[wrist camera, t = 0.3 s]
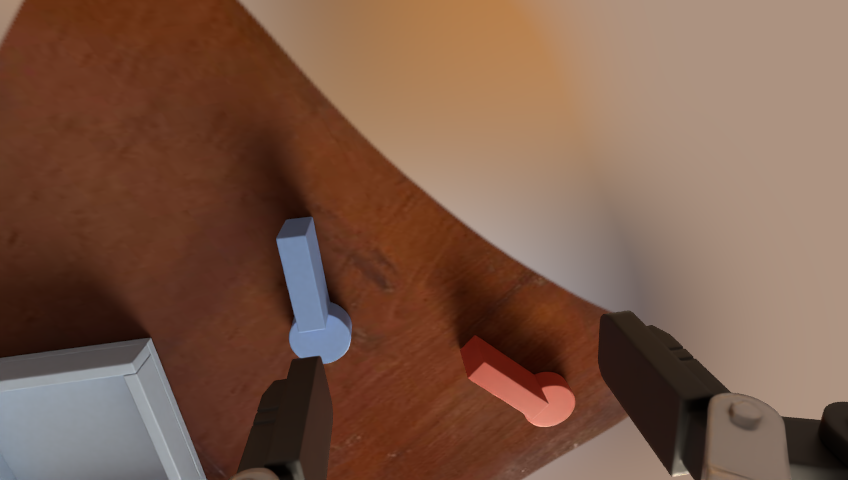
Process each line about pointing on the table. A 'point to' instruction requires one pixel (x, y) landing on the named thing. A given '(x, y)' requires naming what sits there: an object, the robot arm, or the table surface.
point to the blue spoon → (311, 295)
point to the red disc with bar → (518, 384)
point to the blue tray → (92, 416)
